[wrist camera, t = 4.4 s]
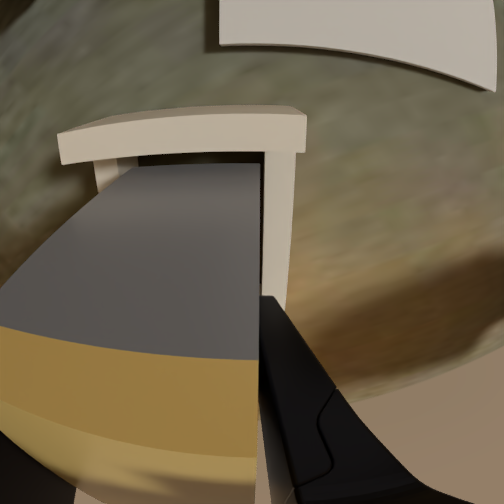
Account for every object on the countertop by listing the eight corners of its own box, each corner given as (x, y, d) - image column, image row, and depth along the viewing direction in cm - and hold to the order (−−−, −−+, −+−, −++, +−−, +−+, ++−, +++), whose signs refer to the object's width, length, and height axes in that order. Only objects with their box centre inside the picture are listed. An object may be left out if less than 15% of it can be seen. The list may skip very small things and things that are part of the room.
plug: (260, 163, 9) (257, 457, 2) (257, 316, 12) (253, 526, 5) (132, 167, 9) (-59, 366, 2) (159, 312, 12) (101, 501, 5)
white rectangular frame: (290, 105, 10) (306, 115, 7) (281, 299, 15) (285, 362, 12) (112, 115, 11) (57, 134, 7) (143, 295, 15) (118, 351, 12)
